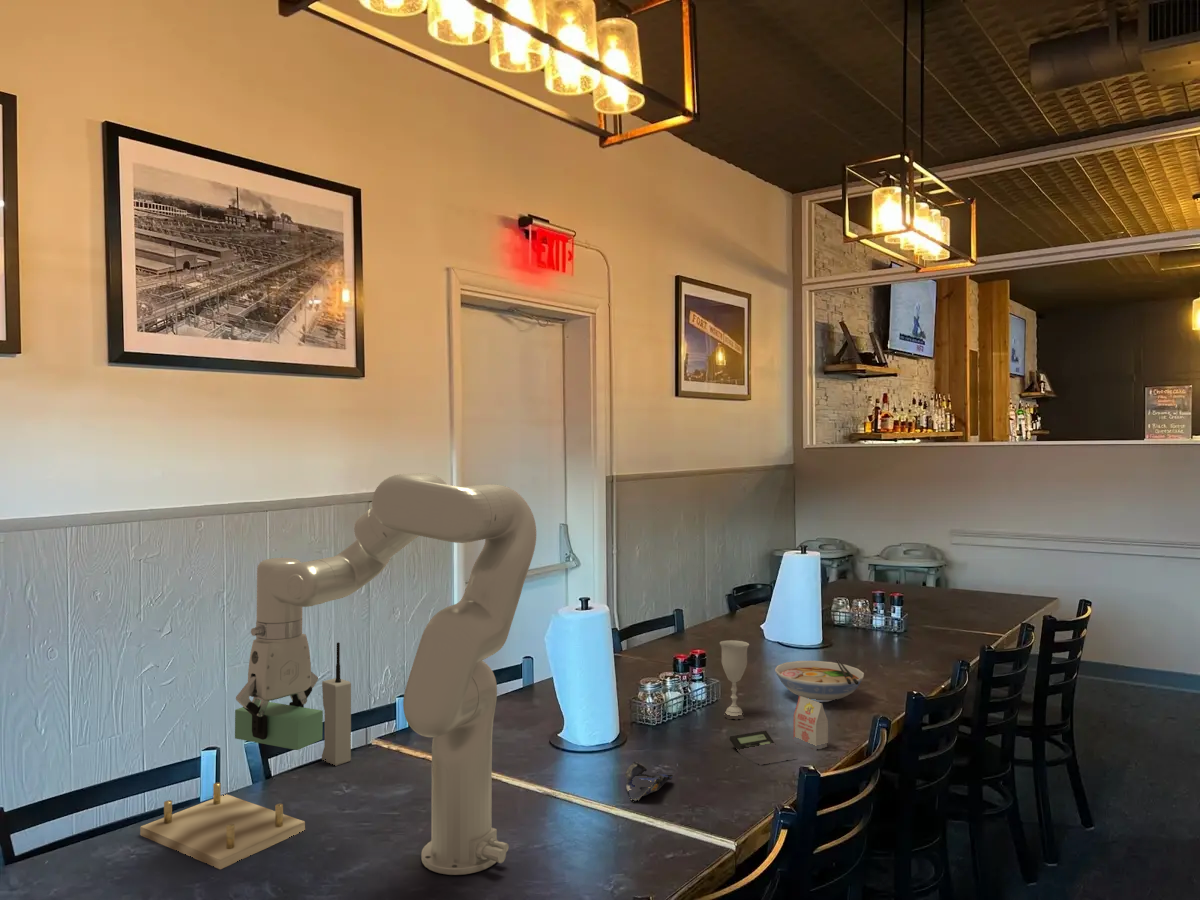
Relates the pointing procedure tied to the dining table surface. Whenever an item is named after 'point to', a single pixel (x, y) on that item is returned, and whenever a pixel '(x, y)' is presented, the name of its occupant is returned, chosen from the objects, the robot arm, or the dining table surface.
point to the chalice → (734, 668)
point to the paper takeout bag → (810, 722)
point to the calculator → (751, 739)
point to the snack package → (637, 770)
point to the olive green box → (283, 726)
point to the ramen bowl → (819, 679)
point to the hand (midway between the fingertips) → (278, 731)
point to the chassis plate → (222, 829)
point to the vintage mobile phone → (337, 718)
